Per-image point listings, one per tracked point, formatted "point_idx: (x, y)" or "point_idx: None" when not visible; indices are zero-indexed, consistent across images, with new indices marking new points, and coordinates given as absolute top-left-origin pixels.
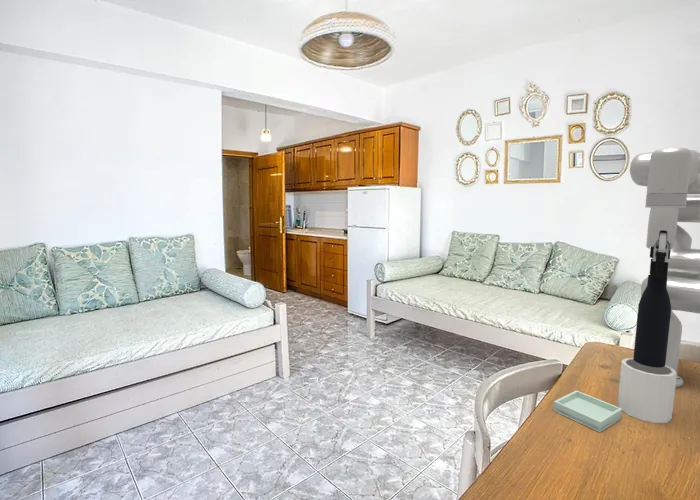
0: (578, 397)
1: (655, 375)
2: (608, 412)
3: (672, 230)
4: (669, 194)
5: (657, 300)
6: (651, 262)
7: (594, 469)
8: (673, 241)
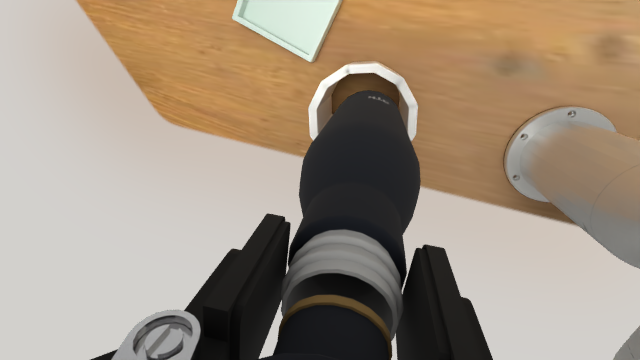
0: None
1: (309, 125)
2: (307, 38)
3: None
4: None
5: (299, 192)
6: (211, 297)
7: (131, 8)
8: None
